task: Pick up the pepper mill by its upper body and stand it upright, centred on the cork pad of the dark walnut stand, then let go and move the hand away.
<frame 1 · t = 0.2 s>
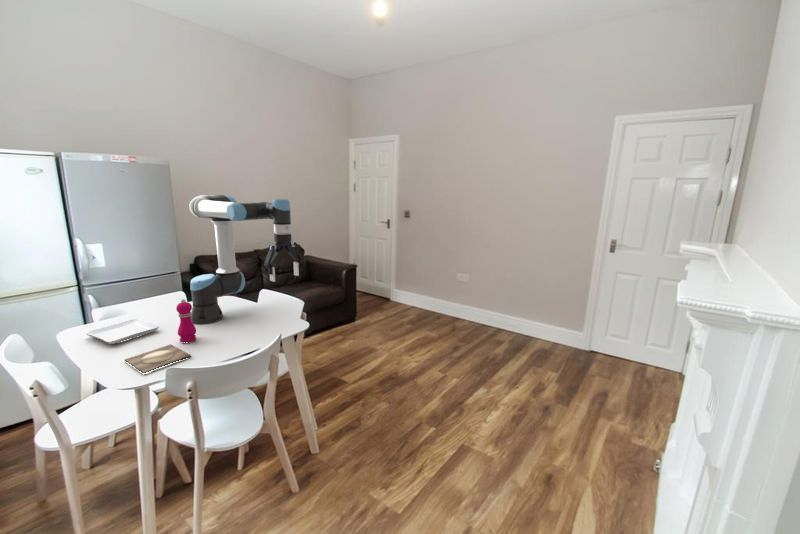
hand: (284, 278, 164), 28 cm above the table, tool pointing down, fingers open, 13 cm apart
salad plate: (124, 335, 164), on the table
pepper mill: (188, 340, 159), on the table
walnut stand: (158, 359, 141), on the table
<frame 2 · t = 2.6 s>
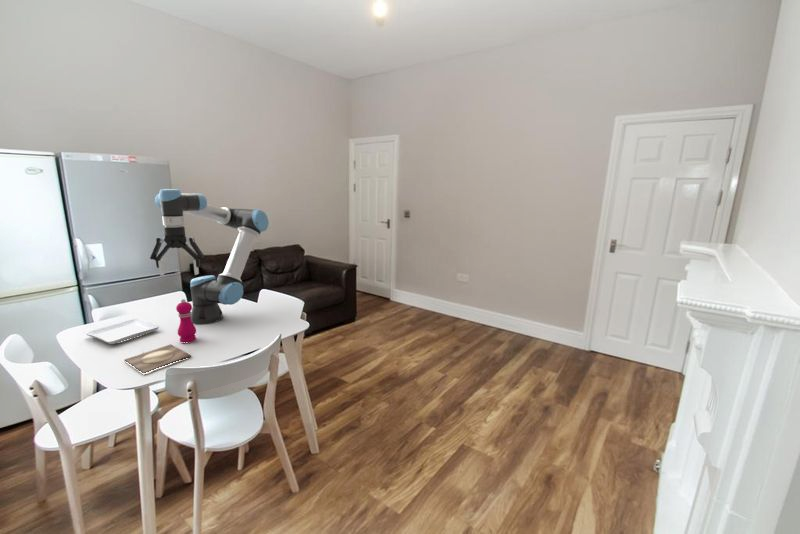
hand: (179, 274, 152), 31 cm above the table, tool pointing down, fingers open, 13 cm apart
nothing on the table moved.
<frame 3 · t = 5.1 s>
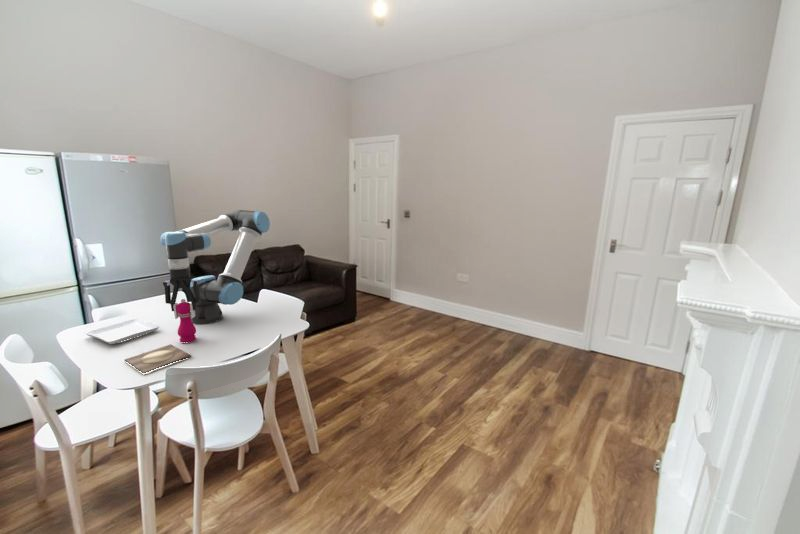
hand: (185, 317, 157), 11 cm above the table, tool pointing down, fingers closed on pepper mill, 6 cm apart
pepper mill: (188, 340, 159), on the table, touching gripper
everything else where it was.
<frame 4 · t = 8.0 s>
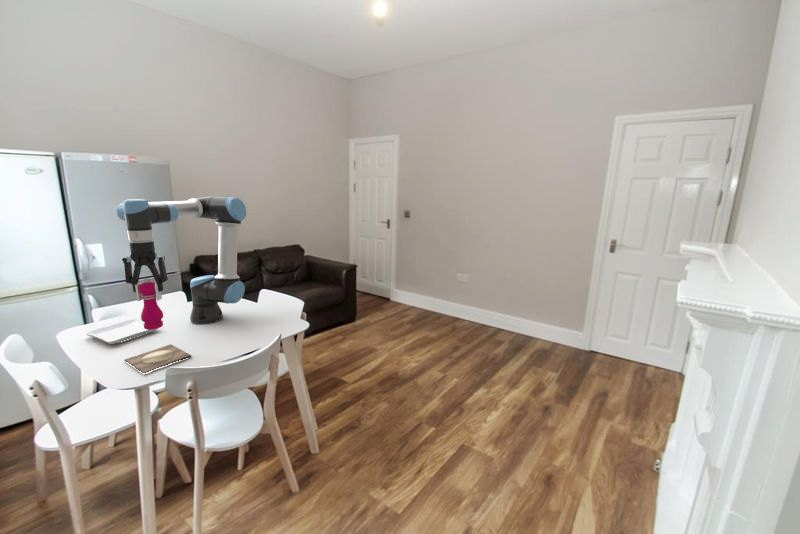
hand: (149, 299, 136), 26 cm above the table, tool pointing down, fingers closed on pepper mill, 6 cm apart
pepper mill: (153, 327, 138), point 14 cm above the table, touching gripper
everything else where it was.
when the fingers open (14 cm above the table, at t = 11.2 s): pepper mill stays where it is, resting on walnut stand.
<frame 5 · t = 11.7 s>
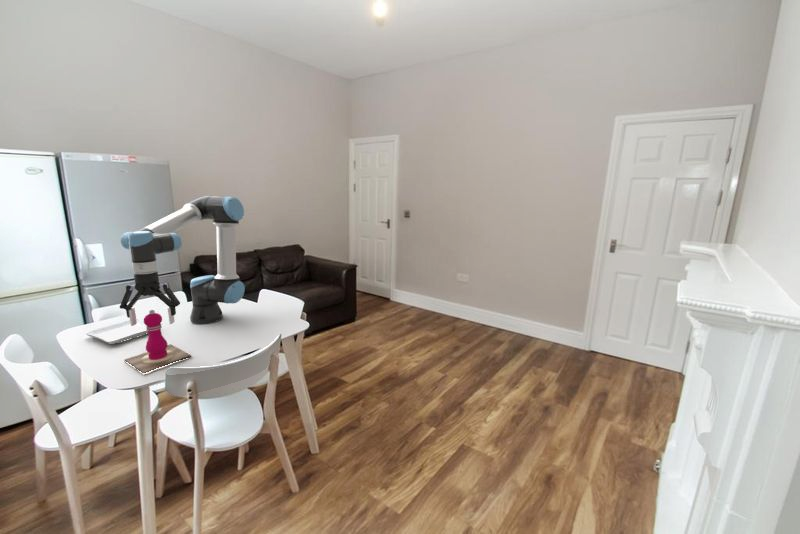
hand: (153, 323, 138), 16 cm above the table, tool pointing down, fingers open, 13 cm apart
pepper mill: (158, 356, 141), point 1 cm above the table, touching walnut stand
everything else where it was.
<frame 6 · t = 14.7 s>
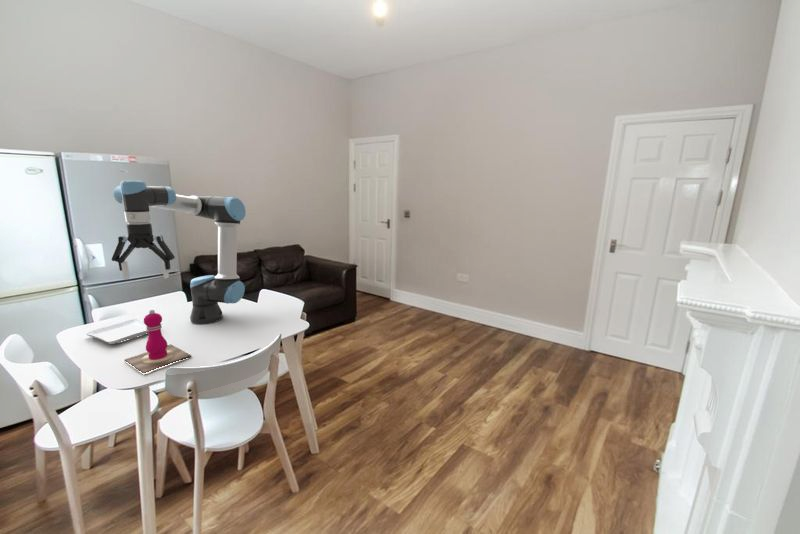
hand: (146, 278, 134), 34 cm above the table, tool pointing down, fingers open, 13 cm apart
nothing on the table moved.
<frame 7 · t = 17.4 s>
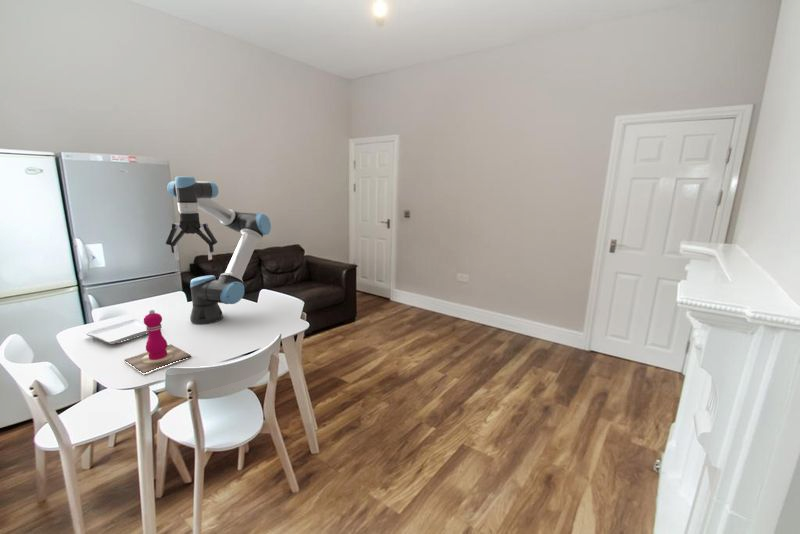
hand: (194, 259, 157), 37 cm above the table, tool pointing down, fingers open, 13 cm apart
nothing on the table moved.
at the end: pepper mill inside the target area on the walnut stand (0.1 cm from its centre), point 1.3 cm above the walnut stand's base; pepper mill tilted 0°; the gripper is holding nothing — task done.
